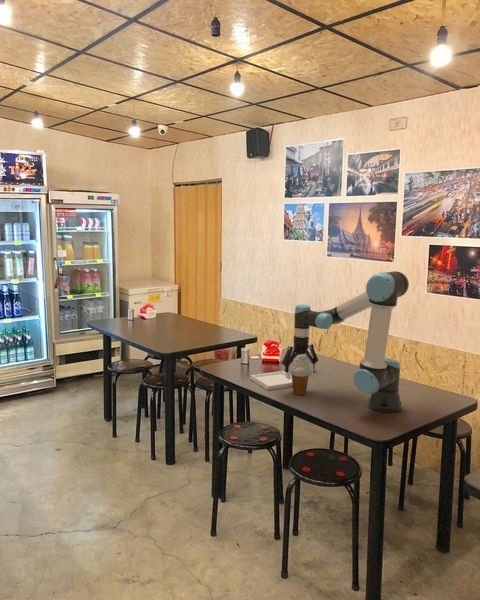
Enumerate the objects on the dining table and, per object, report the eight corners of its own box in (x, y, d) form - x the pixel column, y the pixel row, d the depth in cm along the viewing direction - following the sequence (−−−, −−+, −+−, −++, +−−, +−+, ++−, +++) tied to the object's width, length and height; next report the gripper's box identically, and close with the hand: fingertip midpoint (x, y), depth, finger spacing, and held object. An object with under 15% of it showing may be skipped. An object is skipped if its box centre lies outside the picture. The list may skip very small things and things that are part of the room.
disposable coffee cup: (286, 391, 258) (287, 368, 256) (302, 388, 262) (303, 366, 260) (296, 397, 250) (297, 373, 248) (312, 394, 254) (313, 371, 252)
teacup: (314, 369, 298) (315, 355, 296) (315, 374, 287) (316, 360, 286) (290, 368, 299) (291, 354, 298) (290, 373, 288) (291, 359, 287)
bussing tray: (301, 385, 267) (301, 381, 267) (268, 390, 258) (268, 386, 258) (282, 375, 285) (282, 370, 284) (250, 379, 276) (250, 375, 276)
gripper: (318, 332, 260) (315, 371, 264) (275, 336, 249) (274, 377, 253) (326, 335, 253) (324, 376, 257) (283, 339, 243) (281, 382, 246)
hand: (299, 376), depth 255 cm, fingers open, 13 cm apart
